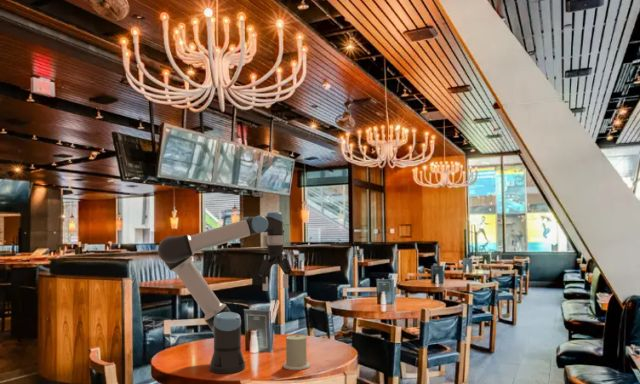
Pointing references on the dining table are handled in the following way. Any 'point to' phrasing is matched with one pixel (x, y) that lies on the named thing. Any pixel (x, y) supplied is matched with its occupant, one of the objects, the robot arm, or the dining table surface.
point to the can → (296, 351)
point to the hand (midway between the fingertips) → (275, 289)
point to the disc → (296, 367)
